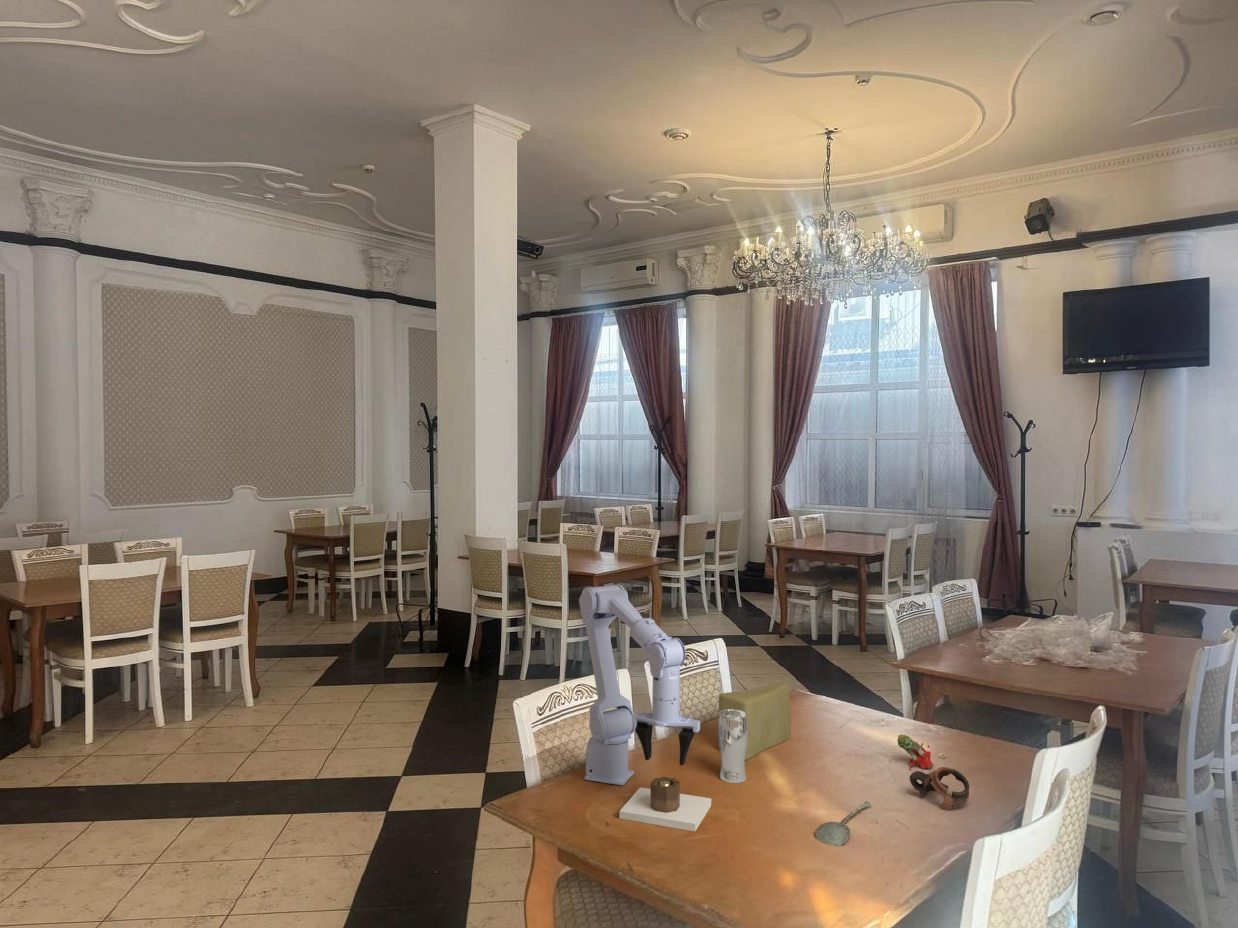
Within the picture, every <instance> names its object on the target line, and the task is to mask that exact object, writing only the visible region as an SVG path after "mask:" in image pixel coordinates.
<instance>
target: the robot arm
mask: <svg viewBox="0 0 1238 928" xmlns="http://www.w3.org/2000/svg"><path fill="white" fill-rule="evenodd" d="M578 602H579V608H580V614H581V615H580V616H581V618H582V624H584V625H585V631H586V635H587V642H588V649H589V653H590V659H591V665H592V670H593V676H594V677H593V678H594V682H595V689H596V692H597V693H596V694H597V698H596V700H595V701H594V703H592V705H591V706H590V707H589V709H588V710H589V731H590V733H591V737H589V739H588V741H587V744H586V749H585V750H586V751H585V776H584V780H585V781H591V782H599V783H602V784H603V783H604V784H611V785H617V786H624V785H625V784H626V783H627V782H628V780H630V778H631V777H633V775H634V774H635V771H633V770H629V740H631V739H632V734H634V733H635V734H636V736H637V737H638V739H639V741H640V744H641V747H642V751H643V754H644V761H650V760H651V758H652V753H653V752H652V751H653V749H652V737H653V729H654V728H653V726H654V727H661V728H670V729H676V730H681V731H680V732H679V733H678V741H679V766H684V765H685V764H686V763H687V761H686V760H687V755H688V751H689V748H690V745H691V744H692V741H693V738H694V736H695V734H696V733H699V732H700V730H701V720H697V719H693V718H689V717H686V716H685V717H684V716H681V715H680V697H681V696H680V694H681V692H680V690H681V689H680V685H681V684H680V681H681V680H680V679H681V677H680V676H681V674H680V673H681V670H680V669H681V666H682V665H684V663H685V661H686V657H687V652H686V648H685V644H684V643H683V642H682V641H681V639H680V638H678V637H672V636H668V635H667V633H665V631H663V630H662V629H661V628H660V626H659V625H658V624H656V621H655V620H654V619H653V618H648V617H647V618H643V617H642V615H641V613H639V611H638V610H637V608H635V607H634V605H633V604H632V603H631V602H630V600H629V595H628V591H627V590H625V588H624V587H623V585H621V584H619V583H617V584H616V583H615V584H611V585H603V586H592V587H591V586H586V587H584V589H583V590H582V592H581V594H580V596H579V599H578ZM616 618H618V619H619V620H620V621H622V623H624V624H625V625H626V626H627V627H628V628H630V630H631V637H632V639H633V640H634V641H635V642H636V643H637V644H638V645H639V646H640V647H641V648H642V649H643V650H644V651H645V653H646V658H647V662H648V665H649V670H650V675H651V676H652V701H651V702H652V705H651V706H652V707H651V708H652V710H651V711H652V712H636V711H635V712H634V711H633V708H632V704H631V701H630V700H629V699H628V698H627V697H625V696H623V695H622V694H621V691H620V686H619V680H618V673H617V668H616V664H615V663H616V661H615V658H614V652H613V646H612V641H611V635H610V629H609V628H610V627H609V626H610V625H611V623H612V621H614V620H615V619H616ZM611 708H612V709H611ZM613 708H614V709H613ZM615 708H616V709H615ZM608 709H611V710H608Z"/></svg>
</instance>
